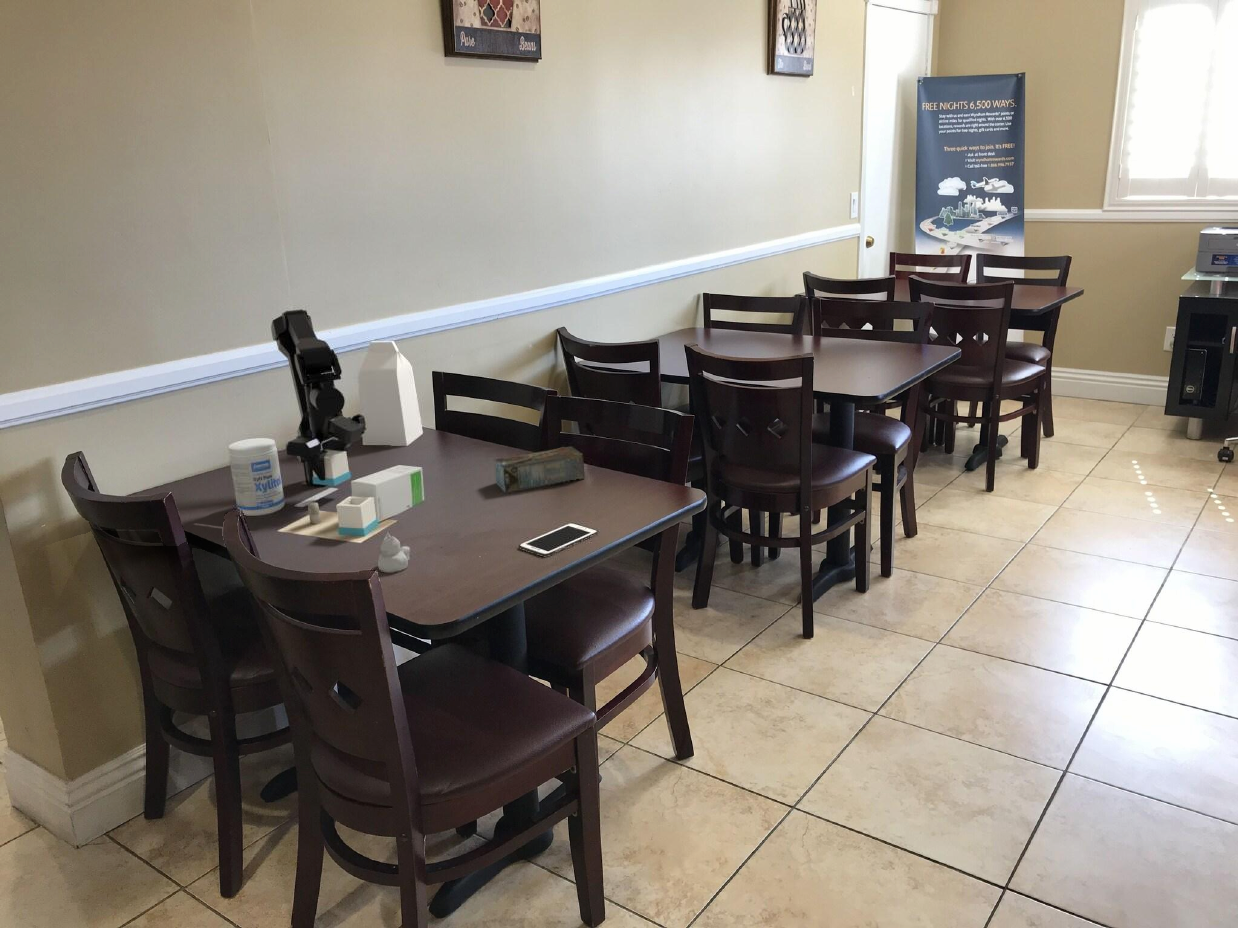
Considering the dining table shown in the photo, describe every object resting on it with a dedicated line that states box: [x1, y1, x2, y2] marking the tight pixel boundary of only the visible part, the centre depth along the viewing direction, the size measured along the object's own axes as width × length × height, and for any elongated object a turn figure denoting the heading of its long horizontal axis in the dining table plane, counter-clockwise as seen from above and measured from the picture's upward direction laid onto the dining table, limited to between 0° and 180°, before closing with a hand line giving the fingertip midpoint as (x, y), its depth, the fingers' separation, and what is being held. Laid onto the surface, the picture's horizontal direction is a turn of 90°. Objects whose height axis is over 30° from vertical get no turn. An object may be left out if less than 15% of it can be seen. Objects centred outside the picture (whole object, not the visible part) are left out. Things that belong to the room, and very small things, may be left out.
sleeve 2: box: [335, 495, 379, 536], centre depth 186 cm, size 6×6×6 cm
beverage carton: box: [493, 446, 585, 493], centre depth 213 cm, size 8×19×7 cm, turn 113°
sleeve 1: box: [312, 450, 352, 487], centre depth 204 cm, size 6×6×6 cm
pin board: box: [277, 501, 398, 544], centre depth 189 cm, size 20×12×5 cm, turn 67°
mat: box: [294, 487, 339, 508], centre depth 207 cm, size 12×12×1 cm
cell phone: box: [518, 522, 599, 556], centre depth 180 cm, size 8×15×1 cm, turn 138°
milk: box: [357, 340, 424, 447], centre depth 247 cm, size 12×12×26 cm
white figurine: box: [377, 531, 411, 574], centre depth 169 cm, size 5×7×8 cm
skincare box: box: [350, 464, 425, 522], centre depth 196 cm, size 8×7×16 cm
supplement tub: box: [227, 437, 285, 517], centre depth 201 cm, size 10×10×15 cm
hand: (331, 476), depth 205 cm, fingers closed on sleeve 1, 6 cm apart
